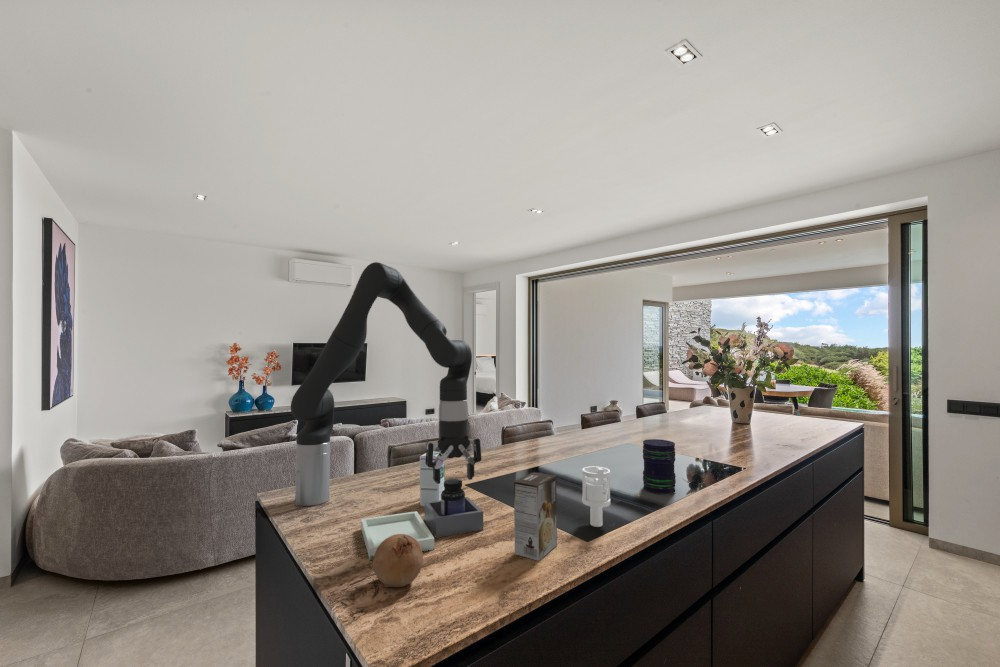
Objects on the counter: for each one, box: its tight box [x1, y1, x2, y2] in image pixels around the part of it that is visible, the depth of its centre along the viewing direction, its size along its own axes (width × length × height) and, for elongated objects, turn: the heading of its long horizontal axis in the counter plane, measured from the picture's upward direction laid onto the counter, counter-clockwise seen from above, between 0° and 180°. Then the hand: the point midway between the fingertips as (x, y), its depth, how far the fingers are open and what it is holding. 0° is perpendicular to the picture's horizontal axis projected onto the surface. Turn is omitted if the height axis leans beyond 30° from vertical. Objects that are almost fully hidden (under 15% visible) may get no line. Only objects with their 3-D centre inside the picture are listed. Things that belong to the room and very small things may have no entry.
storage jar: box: [642, 438, 677, 495], centre depth 144 cm, size 10×10×15 cm
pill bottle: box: [441, 478, 466, 516], centre depth 116 cm, size 6×6×11 cm
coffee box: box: [513, 472, 558, 562], centre depth 102 cm, size 9×6×16 cm
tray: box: [360, 511, 435, 562], centre depth 107 cm, size 14×18×2 cm
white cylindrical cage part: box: [581, 465, 611, 528], centre depth 116 cm, size 7×7×15 cm
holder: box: [423, 496, 484, 538], centre depth 116 cm, size 12×12×4 cm
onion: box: [372, 534, 424, 588], centre depth 88 cm, size 10×9×10 cm
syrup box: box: [419, 450, 446, 507], centre depth 131 cm, size 6×6×14 cm
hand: (453, 480), depth 116 cm, fingers open, 8 cm apart
